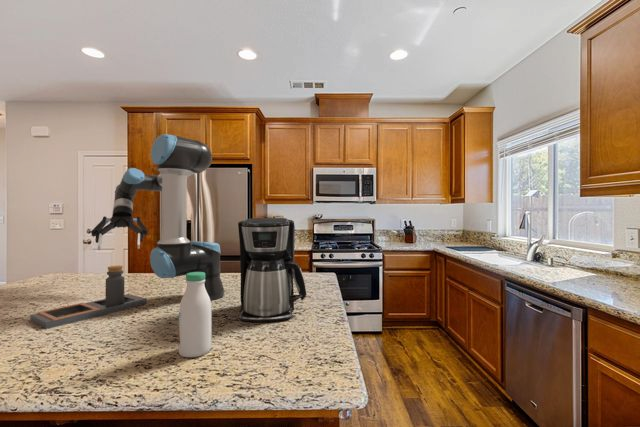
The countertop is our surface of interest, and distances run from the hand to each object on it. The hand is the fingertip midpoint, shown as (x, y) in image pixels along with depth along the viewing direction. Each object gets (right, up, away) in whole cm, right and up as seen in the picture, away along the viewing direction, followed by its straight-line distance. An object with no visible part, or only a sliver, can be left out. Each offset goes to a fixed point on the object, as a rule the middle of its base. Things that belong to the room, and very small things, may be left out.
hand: (119, 247), depth 125 cm
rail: (+2, -21, -17) cm, 27 cm away
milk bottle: (+51, -21, -47) cm, 72 cm away
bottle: (+6, -21, -11) cm, 24 cm away
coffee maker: (+66, -22, -12) cm, 70 cm away
